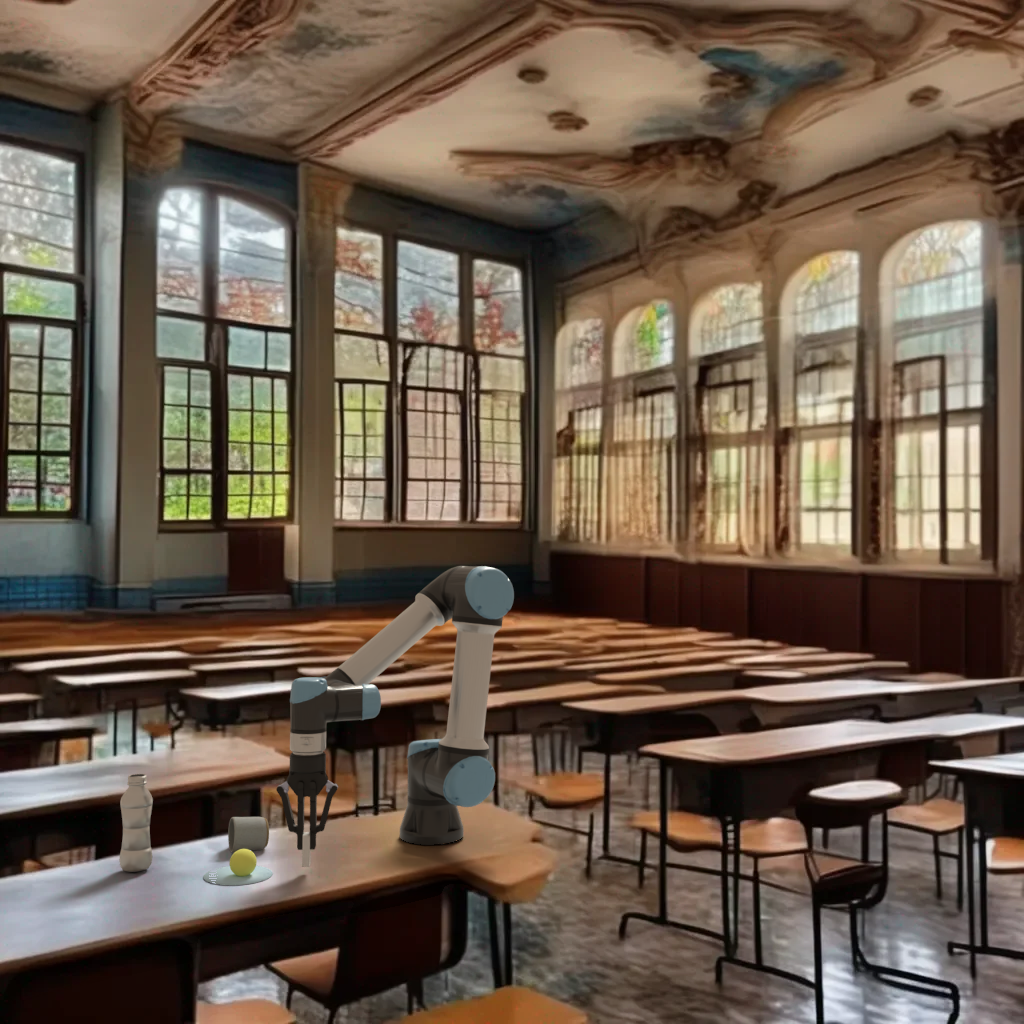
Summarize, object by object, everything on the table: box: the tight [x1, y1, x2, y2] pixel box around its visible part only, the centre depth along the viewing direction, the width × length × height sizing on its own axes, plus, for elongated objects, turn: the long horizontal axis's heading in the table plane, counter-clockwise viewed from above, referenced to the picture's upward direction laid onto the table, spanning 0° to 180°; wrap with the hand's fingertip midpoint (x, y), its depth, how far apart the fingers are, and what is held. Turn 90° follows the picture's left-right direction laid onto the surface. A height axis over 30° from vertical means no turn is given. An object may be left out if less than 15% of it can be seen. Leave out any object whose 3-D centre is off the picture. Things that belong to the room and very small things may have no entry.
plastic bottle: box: [119, 773, 154, 873], centre depth 235 cm, size 6×7×20 cm
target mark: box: [203, 865, 274, 887], centre depth 232 cm, size 14×14×1 cm
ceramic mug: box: [227, 816, 270, 853], centre depth 253 cm, size 11×8×8 cm
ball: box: [229, 849, 257, 876], centre depth 231 cm, size 6×6×6 cm
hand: (306, 864), depth 233 cm, fingers closed
